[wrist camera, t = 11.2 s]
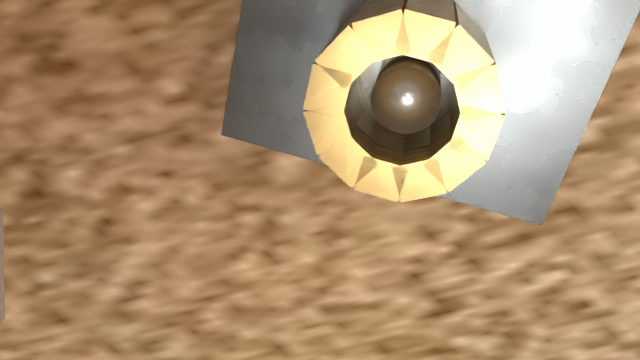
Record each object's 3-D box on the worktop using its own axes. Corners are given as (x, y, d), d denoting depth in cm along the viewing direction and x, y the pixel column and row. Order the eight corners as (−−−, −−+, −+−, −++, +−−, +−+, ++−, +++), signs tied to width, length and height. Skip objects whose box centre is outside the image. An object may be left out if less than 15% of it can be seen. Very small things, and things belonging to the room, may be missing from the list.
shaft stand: (232, 123, 35) (191, 166, 29) (269, -99, 30) (229, -99, 24) (535, 208, 34) (555, 271, 28) (630, -6, 29) (680, 17, 23)
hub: (314, 126, 32) (288, 171, 27) (350, -27, 29) (329, -11, 23) (460, 167, 32) (464, 221, 26) (515, 16, 28) (533, 42, 23)
